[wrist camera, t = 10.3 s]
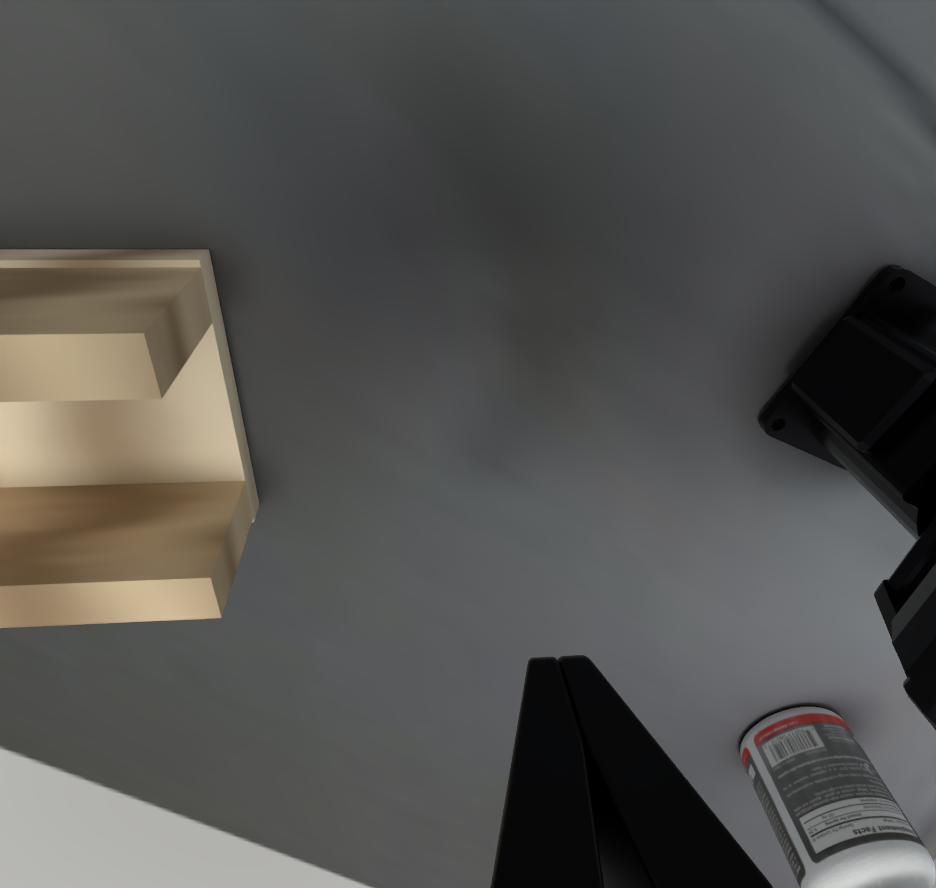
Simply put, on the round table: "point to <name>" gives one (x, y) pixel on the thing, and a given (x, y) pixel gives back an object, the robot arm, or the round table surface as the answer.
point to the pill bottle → (831, 805)
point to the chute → (117, 439)
